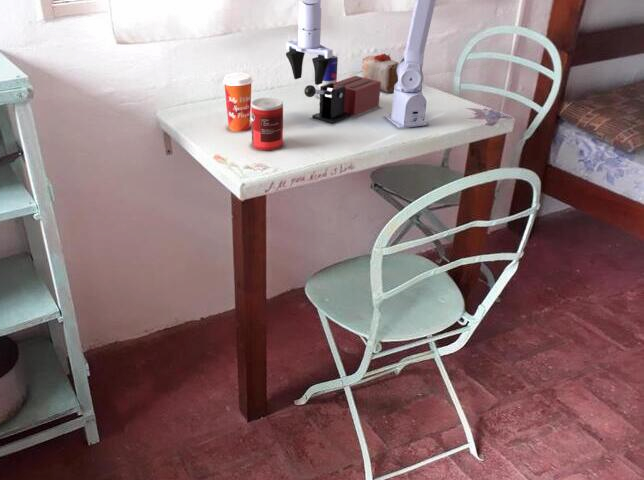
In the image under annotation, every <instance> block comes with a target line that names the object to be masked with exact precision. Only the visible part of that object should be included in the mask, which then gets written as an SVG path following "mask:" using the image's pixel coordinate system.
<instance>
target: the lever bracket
mask: <svg viewBox="0 0 644 480" xmlns="http://www.w3.org/2000/svg"><path fill="white" fill-rule="evenodd" d="M327 87H328V88H334V83H329V84H326V85H323V86H320V90H327ZM344 99H345V86H340V87H337V88H335V89H332V97H331V98H329V97H326V96H325V95H324V94H320V97H319V112H317V113H315V114H312V115H311V118H312V119H314V120H317V121H320V122H322V123H323V122H324V123H327V124H330V125H333V124H336V123H338V122H341V121H343V120H345V119H348V118H351V117H352V116H351V114H349V113H346V112H344Z"/></svg>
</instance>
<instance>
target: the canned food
mask: <svg viewBox="0 0 644 480" xmlns="http://www.w3.org/2000/svg"><path fill="white" fill-rule="evenodd" d="M250 118H251V144H252V146H253V147H254V148H255V149H256V150H259V151H264V152H265V151H266V152H269V151H273V150H278V149H280V148H282V146H283V144H284V102H283V101H282V100H281V99H278V98H275V97H274V98H273V97H261V98H256V99H254V100H251V111H250Z"/></svg>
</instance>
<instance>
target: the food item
mask: <svg viewBox="0 0 644 480" xmlns="http://www.w3.org/2000/svg"><path fill="white" fill-rule="evenodd" d="M390 55H391V53H388V54H386V53H382V54H377V55H368V56H365V57H362V61H361V63H362V64H361V69H362V70H361V77H363V78H367V79H371V80H376V81H380V82H381V85H380V91H383V92H385V93H389V94H391V93H394V85H395V84H396V83H397V82H398V75H397V72H396V69H397V66H398V64H399V61H395V60H393V59H391V56H390Z"/></svg>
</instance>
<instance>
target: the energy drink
mask: <svg viewBox="0 0 644 480" xmlns="http://www.w3.org/2000/svg"><path fill="white" fill-rule="evenodd" d="M338 59H339V58H338V55H337V54H335V53H333V55H332V60H331V62H330V63H329V65H328V67H327V69H326V72H325V75H324V78H323V82H322V84H319V85H317V90H320V86H323V85H326V84H329V83H336V82H338V81H337V80H338V65H339V64H338V62H339V61H338ZM317 97H318V98H320V94H317Z"/></svg>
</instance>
